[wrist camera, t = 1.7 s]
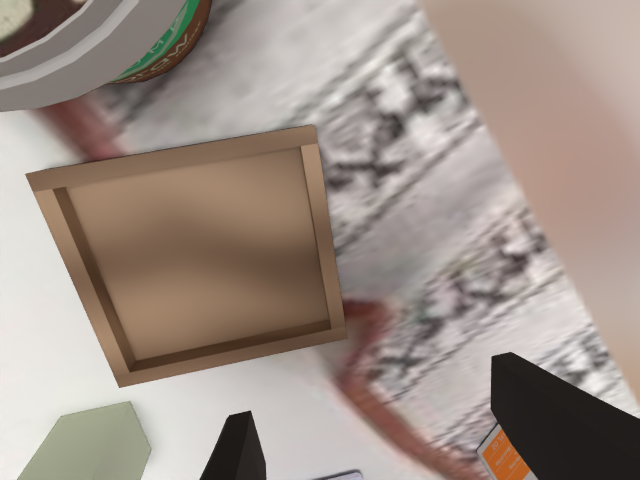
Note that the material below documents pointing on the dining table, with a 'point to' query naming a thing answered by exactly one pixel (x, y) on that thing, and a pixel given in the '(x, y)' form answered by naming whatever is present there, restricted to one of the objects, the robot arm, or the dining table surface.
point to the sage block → (92, 447)
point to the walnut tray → (199, 251)
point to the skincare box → (503, 458)
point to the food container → (90, 45)
